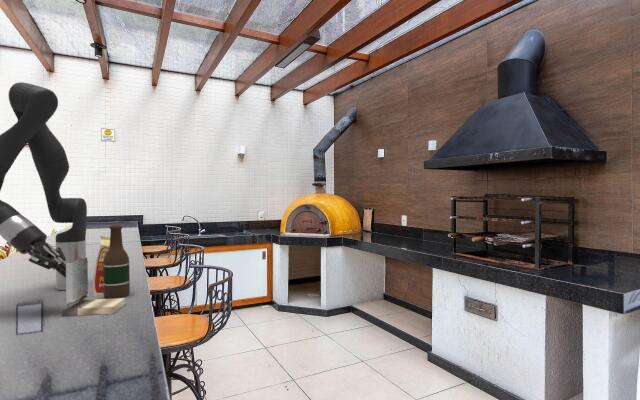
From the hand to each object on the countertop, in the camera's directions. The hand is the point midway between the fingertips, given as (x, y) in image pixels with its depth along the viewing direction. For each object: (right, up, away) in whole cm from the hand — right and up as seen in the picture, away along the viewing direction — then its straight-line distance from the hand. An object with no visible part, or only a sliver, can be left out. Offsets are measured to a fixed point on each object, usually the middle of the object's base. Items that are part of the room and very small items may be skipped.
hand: (69, 274), depth 106 cm
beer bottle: (+4, -11, +17) cm, 20 cm away
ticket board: (+7, -11, +2) cm, 13 cm away
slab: (+2, -8, +1) cm, 8 cm away
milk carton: (-2, -11, +23) cm, 26 cm away
